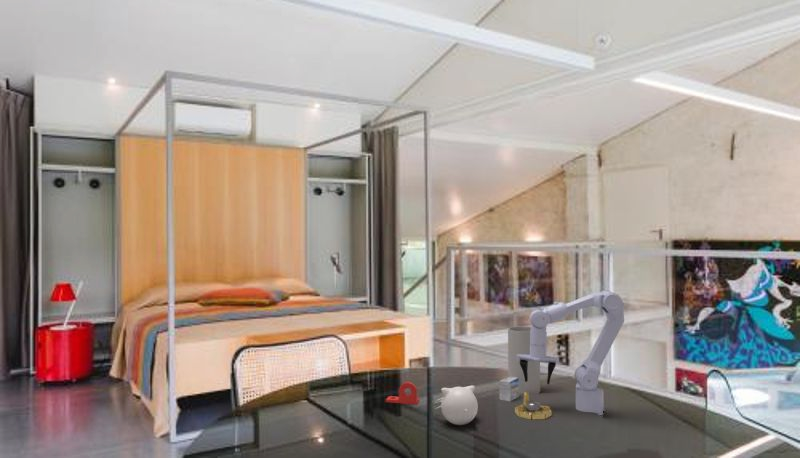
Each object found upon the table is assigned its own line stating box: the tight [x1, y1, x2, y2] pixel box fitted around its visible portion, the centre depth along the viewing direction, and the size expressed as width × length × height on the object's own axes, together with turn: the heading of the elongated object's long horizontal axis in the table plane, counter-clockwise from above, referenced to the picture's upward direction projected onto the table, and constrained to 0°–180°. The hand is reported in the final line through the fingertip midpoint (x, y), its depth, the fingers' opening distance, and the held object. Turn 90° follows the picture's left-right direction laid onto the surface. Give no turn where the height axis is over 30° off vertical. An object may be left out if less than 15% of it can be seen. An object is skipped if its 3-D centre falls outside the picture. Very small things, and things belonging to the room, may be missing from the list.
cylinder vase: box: [507, 326, 541, 395], centre depth 225 cm, size 12×12×25 cm
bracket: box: [385, 381, 420, 405], centre depth 213 cm, size 12×4×8 cm, turn 74°
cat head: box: [435, 385, 479, 426], centre depth 187 cm, size 15×13×12 cm
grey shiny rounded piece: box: [525, 400, 541, 413], centre depth 193 cm, size 18×18×5 cm
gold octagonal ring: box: [514, 392, 553, 421], centre depth 194 cm, size 14×12×5 cm
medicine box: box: [499, 376, 520, 402], centre depth 211 cm, size 8×4×9 cm, turn 143°
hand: (537, 382), depth 199 cm, fingers open, 7 cm apart
